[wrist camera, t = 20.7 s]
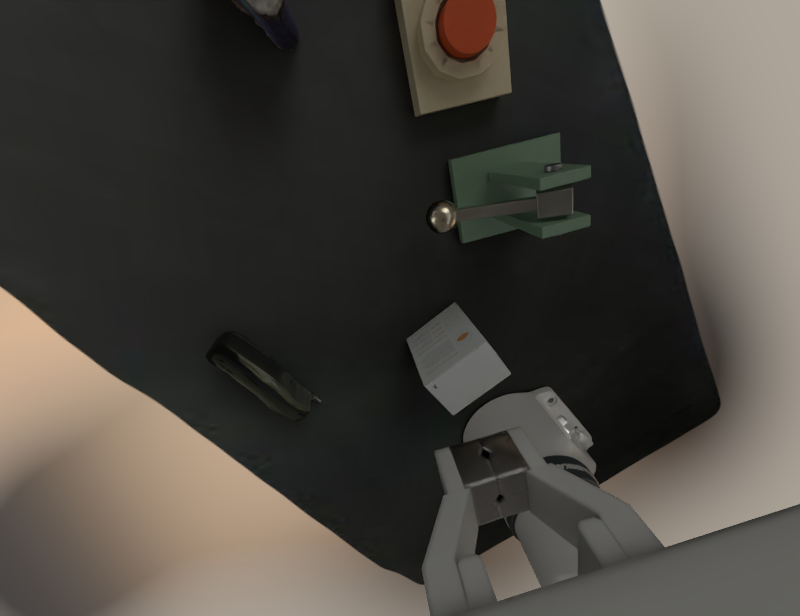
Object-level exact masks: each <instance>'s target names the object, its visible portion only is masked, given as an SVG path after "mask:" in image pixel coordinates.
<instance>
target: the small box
mask: <svg viewBox="0 0 800 616" xmlns="http://www.w3.org/2000/svg"><path fill="white" fill-rule="evenodd" d="M407 343H408V345H409V348H410V350H411V353H412V356H413V358H414V361H415V364H416V366H417V369H418V372H419V374H420V377H421V379H422V382H423V385H424V386H425V387H426V388H427V389H428V390H429V391H430V392H431V394H432V395H433V396H434V397H435V398H436V399H437V400H438V401H439V402H440V403H441V404H442V405H443V406H444V407H445V408H446V409H447V410H448V411H449V412H450V413H451V414H452V415H455V414H456V413H458V412H459V411H460V410H462V409H463V408H465V407H466V406H467V405H469V404H470V403H471V402H473V401H474V400H476V399H477V398H478V397H480V396H481V395H483V394H484V393H485V392H487V391H488V390H490V389H491V388H492V387H494V386H495V385H497V384H498V383H499V382H501V381H502V380H503V379H505V378H506V377H508V376H509V375H510V374H511V373H510V371H509V370H508V368H507V367H506V366H505V364H504V363H503V362H502V360H501V359H500V358H499V356H498V355H497V354H496V352H495V351H494V350H493V348H492V347H491V346H490V345H489V343H488V342H487V341H486V340H485V338H484V337H483V336H482V335H481V333H480V332H479V331H478V330H477V329H476V327H475V326H474V325H473V324H472V322H471V321H470V320H469V319H468V317H467V316H466V315H465V314H464V312H463V311H462V310H461V309H460V308H459V306H458V305H457V304H456V303H455V302H454V303H453V304H451V305H450V306H449V307H448V308H446V309H445V310H444V311H442V312H441V313H440V314H438V315H437V316H436V317H435V318H433V319H432V320H431V321H429V322H428V323H427V324H425V325H424V326H423V327H422V328H420V329H419V330H418V331H416V332H415V333H414V334H412V335H411V336H410V337H409V338H407Z"/></svg>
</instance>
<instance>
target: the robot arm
mask: <svg viewBox="0 0 800 616" xmlns="http://www.w3.org/2000/svg"><path fill="white" fill-rule="evenodd" d="M591 440H592V437H591V436H590V434H589V433H588V432H587V430H586V429H585V428H584V427H583V425H582V424H581V423H580V422H579V421H578V419H577V418H576V417H575V416H574V415H573V414H572V412H571V411H570V410H569V409H568V408H567V406H566V405H565V404H564V403H563V402H562V400H561V399H560V398H559V397H558V396H557V394H556V393H555V392H554V391H553V390H552V389H551V388H550V387H542V388H539V389H536V390H534V391H531V392H527V393H513V394H507V395H504V396H501V397H498V398H496V399H494V400H492V401H490V402H488V403H486V404H485V405H484V406H482V407H481V408H480V409H479V410H478V411H477V412H476V413H475V414H474V415H473V416H472V417H471V419H470V420H469V422H468V423H467V425H466V428H465V431H464V435H463V443H460V444H457V445H453V446H449V447H446V448H443V449H439V450H435V451H434V453H435V458H436V462H437V466H438V470H439V474H440V477H441V481H442V485H443V489H444V492H445V495H444V496H443V499H442V502H441V505H440V509H439V512H438V515H437V519H436V522H435V525H434V529H433V532H432V535H431V539H430V542H429V546H428V549H427V552H426V556H425V559H424V562H423V566H422V573H423V578H424V583H425V588H426V594H427V599H428V604H429V609H430V614H431V616H800V504H799V505H796V506H792V507H789V508H786V509H783V510H780V511H777V512H774V513H771V514H768V515H765V516H762V517H758V518H755V519H752V520H749V521H746V522H743V523H740V524H737V525H734V526H730V527H727V528H724V529H721V530H718V531H715V532H712V533H709V534H706V535H703V536H699V537H696V538H693V539H690V540H687V541H684V542H681V543H678V544H675V545H672V546H668V547H664V546H663V545H662V543H661V542H660V541H659V540H658V539H657V537H656V536H655V535H654V534H653V533H652V531H651V530H650V529H649V528H648V527H647V525H646V524H645V523H644V522H643V520H642V519H641V518H640V517H639V515H638V514H637V513H636V512H635V511H634V510H633V508H632V507H631V506H630V505H629V504H628V503H626V502H624V501H622V500H620V499H619V498H617V497H615V496H613V495H611V494H609V493H607V492H605V491H603V490H602V489H600V487H599V484H598V482H597V480H596V479H595V477H594V476H593V475H594V473H595V470H596V463H595V462H594V461H593V459H592V458H591V457H590V456H589V454H588V453H587V452H586V451H587V449H588V448H589V447H590V446H592V445H593V442H592V441H591ZM501 518H504V519H505V521H506V523H507V525H508V527H509V528H510V529H511V531H512V533H513V535H514V536H515V537H516V538H517V539H518V540H519V541H520V542H521V545H522V547H523V549H524V551H525V553H526V555H527V558H528V560H529V562H530V564H531V566H532V568H533V570H534V573H535V575H536V577H537V579H538V581H539V583H540V585H541V588H538V589H535V590H532V591H529V592H526V593H523V594H520V595H516V596H513V597H510V598H507V599H504V600H501V601H498V602H497V599H496V597H495V594H494V591H493V588H492V586H491V583H490V580H489V577H488V575H487V572H486V569H485V567H484V564H483V561H482V558H481V557H480V556H478V555H476V554H475V547H476V541H477V534H478V526H480V525H483V524H486V523H489V522H492V521H495V520H498V519H501Z"/></svg>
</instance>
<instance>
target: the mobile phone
mask: <svg viewBox="0 0 800 616" xmlns="http://www.w3.org/2000/svg"><path fill="white" fill-rule="evenodd" d="M206 359H207V360H208V361H209V362H210V363H211V364H213V365H215V366H217V367H218V368H220V369H221V370H222V371H224V372H225V373H227V374H228V375H229V376H231V377H232V378H233V379H235V380H236V381H237V382H238V383H240V384H241V385H243V386H244V387H246V388H247V389H248V390H250V391H251V392H253V393H254V394H255V395H256V396H257V397H258V398H259V399H260V400H261V401H263V402H264V403H265V404H266V405H267V406H268V407H269V408H270V409H271V410H272V411H274V412H275V413H277V414H278V415H280V416H284V417H287V418H289V419H291V420H293V421H300V420H301V419H303V418H304V417H305V416H306V415H307V414H308V413H309V411H310V407H311V400H313V401H315V402H316V403H317V404H320V403H321V401H322V400H321V399H320V398H318V397H317V396H315V395H314V394H312V393H311V392H309V391H308V390H307V389H305V388H304V387H303V386H301V385H300V384H299V383H298V382H297V381H295V379H294V378H293V377H292V376H291V375H290V374H289V373H288V372H287V371H285V370H284V369H283V368H281V367H280V366H279V365H277V364H276V363H275V362H274V361H273V360H272V359H271V358H270V357H268V356H267V355H266V354H265V353H263V352H262V351H261V350H259V349H258V348H257V347H256V346H254V345H253V344H252V343H251V342H249V341H248V340H247V339H246V338H244V337H243V336H241V335H239V334H238V333H236V332H226V333H224V334H222V335H221V336H220V337H219V338H217V340H216V341H215V343H214V344H213V346H212V347H211V348H210V350H209V351H208V353H207V354H206Z"/></svg>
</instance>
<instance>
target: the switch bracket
mask: <svg viewBox="0 0 800 616" xmlns="http://www.w3.org/2000/svg"><path fill="white" fill-rule="evenodd" d="M448 165H449V172H450V178H451V185H452V192H453V198H454V205H455V206H456V208H461V207H468V206H474V205H481V204H487V203H494V202H500V201H507V200H513V199H520V198H526V197H533V196H536V190H538V191H543V190H546V189H550V188H554V187H558V186H562V185H566V184H569V183H573V182H577V181H581V180H585V179H589V178H591V166H590V165H575V164H562V163H560V133H553V134H549V135H545V136H541V137H537V138H533V139H529V140H525V141H521V142H517V143H513V144H509V145H505V146H501V147H498V148H494V149H490V150H486V151H482V152H478V153H474V154H470V155H466V156H462V157H458V158H454V159H450V160H448ZM457 225H458V232H459V238H460V241H461V242H462V243H467V242H471V241H474V240H478V239H482V238H486V237H489V236H493V235H497V234H501V233H504V232H508V231H512V230H516V229H520V230H523V231H525V232H527V233H530V234H532V235H534V236H537V237H539V238H541V239H544V238H548V237H552V236H559V235H562V234H563V233H566V232H570V231H574V230H578V229H581V228H585V227H589V226H590V215H588V214H584V213H580V212H576V211H573V214H570V215H563V216H555V217H548V218H540V219H538V218H537V210H536V211H530V212H523V213H516V214H509V215H502V216H494V217H487V218H480V219H473V220H466V221H459V222H458V223H457Z"/></svg>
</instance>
